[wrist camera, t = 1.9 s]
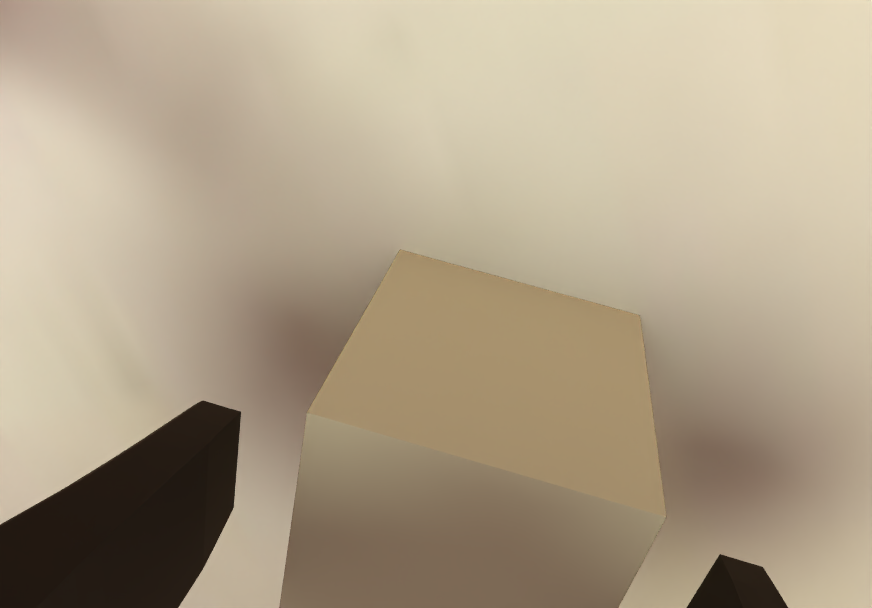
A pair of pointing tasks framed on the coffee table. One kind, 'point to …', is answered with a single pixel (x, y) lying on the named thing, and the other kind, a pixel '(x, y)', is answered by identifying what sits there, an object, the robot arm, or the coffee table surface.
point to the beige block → (476, 452)
